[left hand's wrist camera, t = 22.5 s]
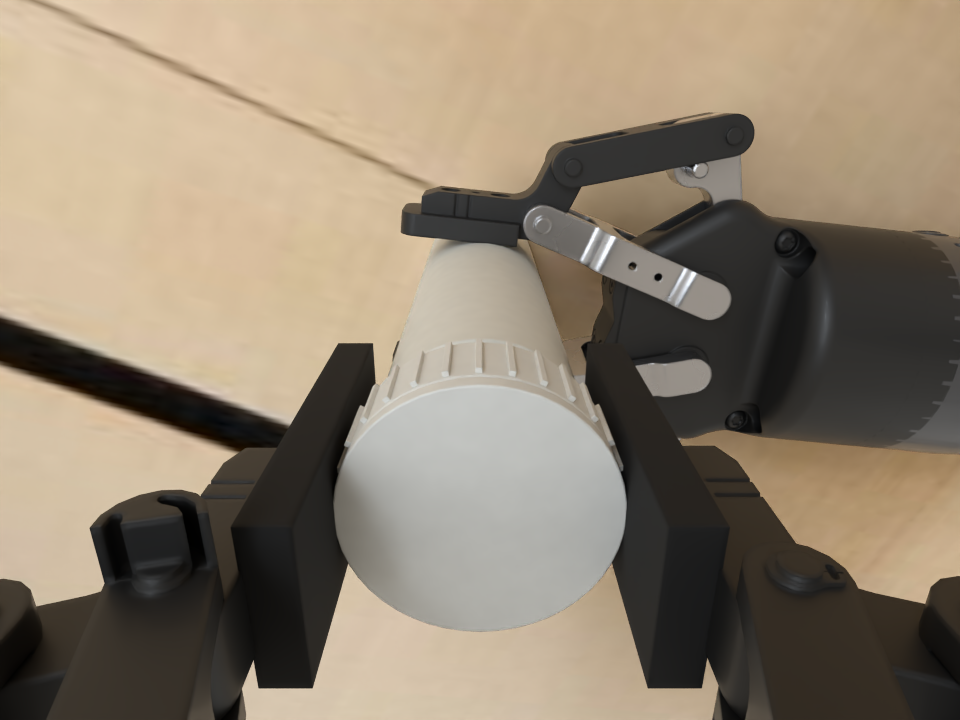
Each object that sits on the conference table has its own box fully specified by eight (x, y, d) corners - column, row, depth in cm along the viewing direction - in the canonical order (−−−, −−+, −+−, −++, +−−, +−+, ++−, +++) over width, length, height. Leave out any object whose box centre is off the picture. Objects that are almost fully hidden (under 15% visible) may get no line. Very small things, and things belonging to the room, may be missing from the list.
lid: (295, 437, 12) (262, 496, 10) (506, 280, 11) (512, 315, 9) (458, 602, 13) (455, 678, 12) (660, 478, 12) (689, 541, 10)
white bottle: (435, 202, 27) (362, 361, 10) (536, 213, 27) (625, 387, 10) (427, 299, 28) (354, 574, 12) (523, 309, 29) (582, 593, 12)
